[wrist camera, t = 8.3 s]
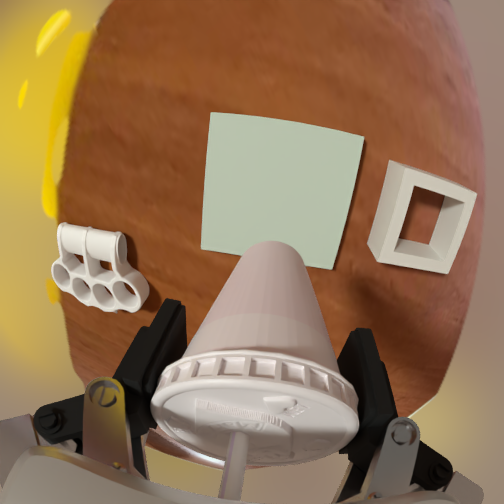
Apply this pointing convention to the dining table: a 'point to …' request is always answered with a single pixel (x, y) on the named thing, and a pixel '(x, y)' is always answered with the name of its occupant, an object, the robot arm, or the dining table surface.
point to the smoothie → (259, 374)
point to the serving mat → (277, 186)
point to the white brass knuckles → (97, 269)
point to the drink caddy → (394, 211)
